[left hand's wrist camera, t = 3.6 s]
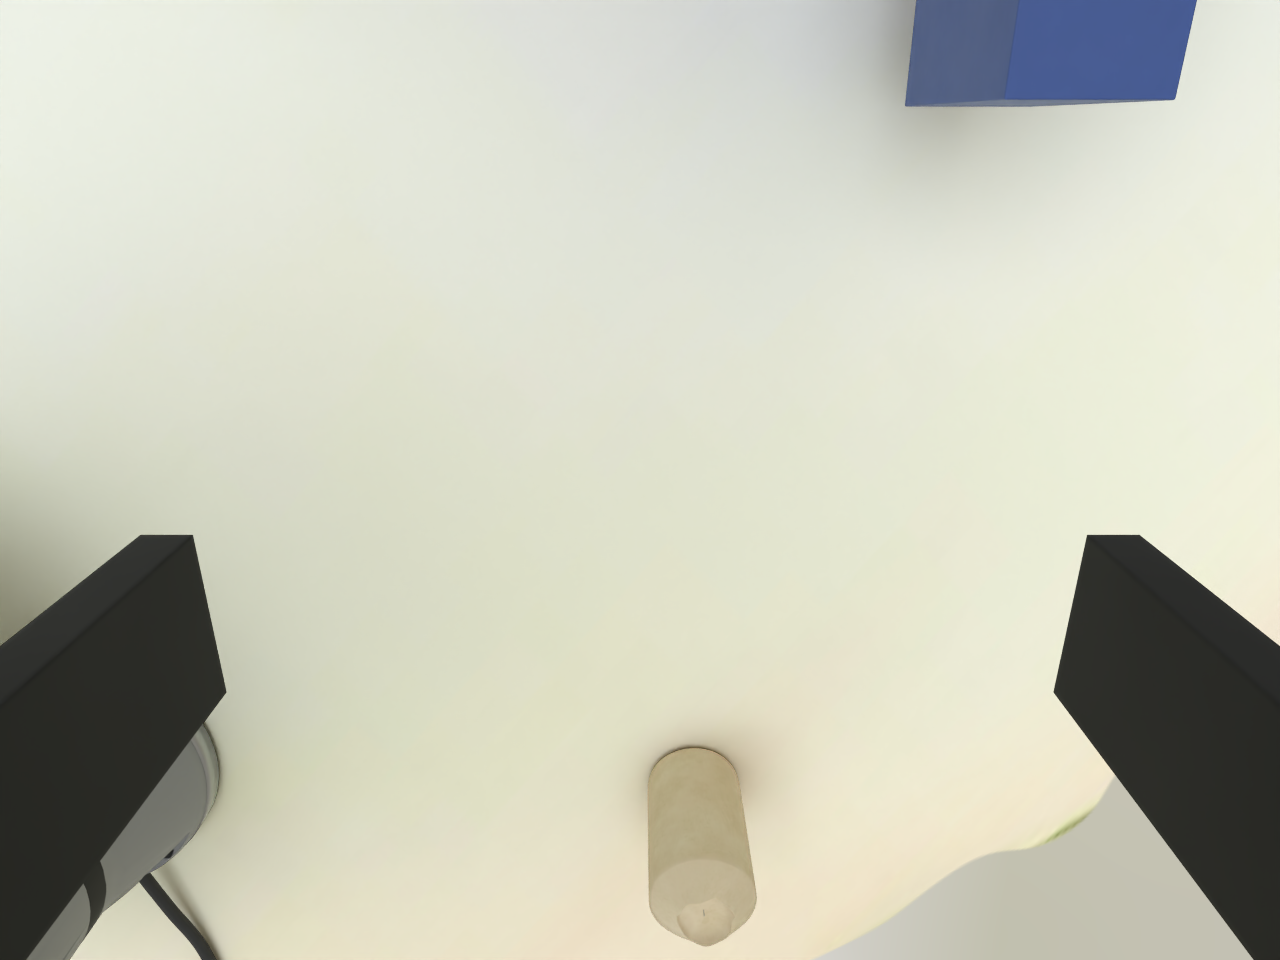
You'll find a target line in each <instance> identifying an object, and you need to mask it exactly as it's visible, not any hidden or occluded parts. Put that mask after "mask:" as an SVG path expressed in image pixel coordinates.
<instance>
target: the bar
mask: <svg viewBox="0 0 1280 960" xmlns="http://www.w3.org/2000/svg"><path fill="white" fill-rule="evenodd" d="M1196 2H1197V0H916V9H915V18H914V28H913V37H912V46H911V55H910V64H909V74H908V83H907V92H906V101H905V106H1001V107H1031V106H1053V105H1075V104H1097V103H1119V102H1140V101H1162V100H1174V99H1175V97H1176V93H1177V88H1178V84H1179V79H1180V75H1181V70H1182V65H1183V61H1184V56H1185V52H1186V47H1187V43H1188V38H1189V34H1190V29H1191V24H1192V20H1193V15H1194V11H1195V6H1196Z"/></svg>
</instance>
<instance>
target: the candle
mask: <svg viewBox="0 0 1280 960" xmlns="http://www.w3.org/2000/svg"><path fill="white" fill-rule="evenodd" d="M648 866H649V905H650V909H651V912H652V914H653V916H654V918H655V919H656V920H657V921H658V922H659V924H660V925H662V926H663V927H664V928H665V929H667V930H668V931H670V932H672V933H674V934H675V935H677V936H680V937H682V938H684V939H687V940H690V941H692V942H695V943H697V944H699V945H701V946H711V945H714V944H716V943H718V942H720V941H722V940H724V939H726V938H727V937H728V936H729V935H730V934H732V933H733V932H734V931H736V930H737V929H738V928H740V927H741V926H742V925H743V924H744V923H745V922H746V921H747V920H748V919H749V918H750V916H751V915H752V913H753V911H754V909H755V905H756V898H757V897H756V888H755V882H754V875H753V869H752V862H751V856H750V849H749V843H748V837H747V830H746V824H745V817H744V811H743V804H742V798H741V791H740V786H739V781H738V777H737V774H736V772H735V770H734V768H733V766H732V765H731V764H730V762H729V761H728V760H726V759H725V758H724V757H723V756H721V755H720V754H718V753H716V752H713V751H710V750H706V749H700V748H688V749H682V750H678V751H675V752H673V753H671V754H669V755H667V756H665V757H664V758H663V759H661V760H660V761H659V762H658V763H657V764H656V766H655V767H654V768H653V770H652V772H651V775H650V778H649V782H648Z"/></svg>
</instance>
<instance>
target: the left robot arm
mask: <svg viewBox="0 0 1280 960" xmlns="http://www.w3.org/2000/svg"><path fill="white" fill-rule="evenodd" d="M225 694H226V688H225V683H224V678H223V674H222V669H221V664H220V660H219V655H218V650H217V646H216V641H215V636H214V632H213V627H212V622H211V618H210V613H209V608H208V604H207V599H206V594H205V590H204V585H203V580H202V576H201V571H200V566H199V562H198V557H197V552H196V548H195V543H194V538H193V535H140V536H139V537H137V538H136V539H135V540H134V541H132V542H131V543H130V544H129V545H127V546H126V547H125V548H124V549H122V550H121V551H120V552H119V553H117V554H116V555H115V556H113V557H112V558H111V559H110V560H108V561H107V562H106V563H105V564H103V565H102V566H101V567H100V568H98V569H97V570H96V571H95V572H93V573H92V574H91V575H89V576H88V577H87V578H86V579H84V580H83V581H82V582H81V583H79V584H78V585H77V586H76V587H74V588H73V589H72V590H71V591H69V592H68V593H67V594H65V595H64V596H63V597H62V598H60V599H59V600H58V601H57V602H55V603H54V604H53V605H52V606H50V607H49V608H48V609H47V610H45V611H44V612H43V613H41V614H40V615H39V616H38V617H36V618H35V619H34V620H33V621H31V622H30V623H29V624H28V625H26V626H25V627H24V628H23V629H21V630H20V631H19V632H18V633H16V634H15V635H14V636H12V637H11V638H10V639H9V640H7V641H6V642H5V643H4V644H2V645H1V646H0V960H70V959H71V957H72V956H73V954H74V953H75V951H76V950H77V948H78V947H79V945H80V944H81V943H82V941H83V940H84V938H85V937H86V936H87V934H88V933H89V931H90V930H91V928H92V927H93V926H94V924H95V923H96V921H97V919H98V918H99V917H100V915H101V914H102V913H103V912H104V911H105V910H106V909H107V908H109V907H110V906H111V905H113V904H114V903H115V902H116V901H118V900H119V899H120V898H121V897H123V896H124V895H125V894H126V893H127V892H128V891H130V890H131V889H132V888H133V887H134V886H135V885H136V884H137V883H138V882H140V883H141V885H142V886H143V887H144V889H145V890H146V891H147V892H148V894H149V895H150V896H151V897H152V899H153V900H154V901H155V902H156V904H157V905H158V906H159V907H160V908H161V910H162V911H163V912H164V913H165V915H166V916H167V917H168V918H169V919H170V920H171V922H172V923H173V924H174V925H175V926H176V927H177V928H178V929H179V930H180V931H181V932H182V933H183V934H184V936H185V937H186V938H187V939H188V940H189V941H190V943H191V944H192V945H193V947H194V948H195V949H196V951H197V953H198V954H199V956H200V958H201V959H202V960H216V958H215V956H214V954H213V952H212V951H211V949H210V947H209V945H208V944H207V942H206V941H205V939H204V938H203V936H202V935H201V934H200V932H199V931H198V930H197V929H196V927H195V926H194V925H193V924H192V923H191V922H190V921H189V920H188V919H187V917H186V916H185V915H184V914H183V913H182V912H181V911H180V910H179V908H178V907H177V906H176V905H175V904H174V902H173V901H172V900H171V899H170V897H169V896H168V895H167V894H166V892H165V891H164V890H163V889H162V887H161V886H160V885H159V883H158V882H157V881H156V880H155V878H154V877H153V876H152V874H151V873H150V872H152V871H154V870H156V869H157V868H159V867H161V866H162V865H164V864H165V863H166V862H168V861H169V860H170V859H171V858H173V857H174V856H175V855H176V854H177V853H178V852H179V851H180V850H181V849H182V848H183V847H184V846H185V845H186V844H187V843H188V842H189V841H190V839H191V838H192V837H193V836H194V834H195V833H196V832H197V830H198V829H199V827H200V826H201V824H202V823H203V821H204V819H205V818H206V816H207V815H208V813H209V811H210V809H211V807H212V806H213V803H214V800H215V798H216V794H217V790H218V782H219V767H218V761H217V756H216V753H215V749H214V746H213V744H212V741H211V739H210V736H209V734H208V733H207V731H206V729H205V727H204V725H203V723H204V722H205V720H206V719H207V718H208V716H209V715H210V714H211V712H212V711H213V710H214V708H215V707H216V706H217V704H218V703H219V702H220V700H221V699H222V698H223V696H224V695H225ZM1054 694H1055V695H1056V696H1057V698H1058V699H1059V700H1060V702H1061V703H1062V704H1063V706H1064V707H1065V708H1066V710H1067V711H1068V712H1069V714H1070V715H1071V716H1072V718H1073V719H1074V720H1075V722H1076V723H1077V724H1078V726H1079V727H1080V728H1081V730H1082V731H1083V732H1084V734H1085V735H1086V736H1087V738H1088V739H1089V740H1090V742H1091V743H1092V744H1093V746H1094V747H1095V748H1096V750H1097V751H1098V752H1099V754H1100V755H1101V756H1102V758H1103V759H1104V760H1105V762H1106V763H1107V764H1108V766H1109V767H1110V768H1111V770H1112V771H1113V772H1114V774H1115V775H1116V776H1117V778H1118V779H1119V780H1120V782H1121V783H1122V784H1123V786H1124V787H1125V788H1126V790H1127V791H1128V792H1129V794H1130V795H1131V796H1132V798H1133V799H1134V800H1135V802H1136V803H1137V804H1138V806H1139V807H1140V808H1141V810H1142V811H1143V812H1144V814H1145V815H1146V817H1147V818H1148V819H1149V820H1150V822H1151V823H1152V825H1153V826H1154V827H1155V829H1156V830H1157V831H1158V833H1159V834H1160V835H1161V836H1162V838H1163V839H1164V841H1165V842H1166V843H1167V845H1168V846H1169V847H1170V849H1171V850H1172V851H1173V852H1174V854H1175V855H1176V857H1177V858H1178V859H1179V861H1180V862H1181V863H1182V865H1183V866H1184V867H1185V869H1186V870H1187V871H1188V873H1189V874H1190V875H1191V877H1192V878H1193V879H1194V881H1195V882H1196V883H1197V885H1198V886H1199V887H1200V889H1201V890H1202V891H1203V893H1204V894H1205V895H1206V897H1207V898H1208V899H1209V901H1210V902H1211V903H1212V905H1213V906H1214V907H1215V909H1216V910H1217V911H1218V913H1219V914H1220V915H1221V917H1222V918H1223V919H1224V921H1225V922H1226V923H1227V925H1228V926H1229V927H1230V929H1231V930H1232V931H1233V933H1234V934H1235V935H1236V937H1237V938H1238V939H1239V941H1240V942H1241V943H1242V945H1243V946H1244V947H1245V949H1246V950H1247V952H1248V953H1249V954H1250V955H1251V957H1252V958H1253V959H1254V960H1280V646H1279V645H1278V644H1276V643H1275V642H1274V641H1273V640H1271V639H1270V638H1269V637H1268V636H1266V635H1265V634H1264V633H1262V632H1261V631H1260V630H1259V629H1257V628H1256V627H1255V626H1254V625H1252V624H1251V623H1250V622H1249V621H1247V620H1246V619H1245V618H1244V617H1242V616H1241V615H1240V614H1239V613H1237V612H1236V611H1235V610H1233V609H1232V608H1231V607H1230V606H1228V605H1227V604H1226V603H1225V602H1223V601H1222V600H1221V599H1220V598H1218V597H1217V596H1216V595H1215V594H1213V593H1212V592H1211V591H1209V590H1208V589H1207V588H1206V587H1204V586H1203V585H1202V584H1201V583H1199V582H1198V581H1197V580H1196V579H1194V578H1193V577H1192V576H1191V575H1189V574H1188V573H1187V572H1185V571H1184V570H1183V569H1182V568H1180V567H1179V566H1178V565H1177V564H1175V563H1174V562H1173V561H1172V560H1170V559H1169V558H1168V557H1167V556H1165V555H1164V554H1163V553H1161V552H1160V551H1159V550H1158V549H1156V548H1155V547H1154V546H1153V545H1151V544H1150V543H1149V542H1148V541H1146V540H1145V539H1144V538H1143V537H1141V536H1140V535H1087V538H1086V543H1085V548H1084V552H1083V557H1082V562H1081V566H1080V571H1079V576H1078V580H1077V585H1076V590H1075V594H1074V599H1073V604H1072V608H1071V613H1070V618H1069V622H1068V627H1067V632H1066V636H1065V641H1064V646H1063V650H1062V655H1061V660H1060V664H1059V669H1058V674H1057V678H1056V683H1055V688H1054Z"/></svg>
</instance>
